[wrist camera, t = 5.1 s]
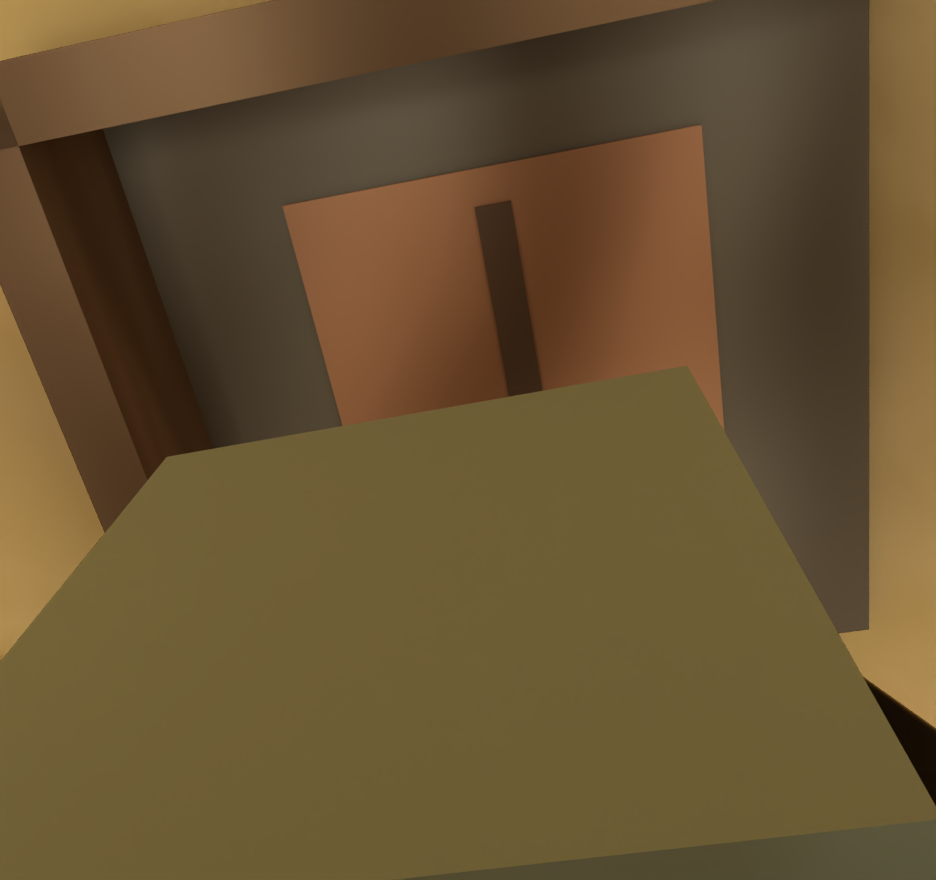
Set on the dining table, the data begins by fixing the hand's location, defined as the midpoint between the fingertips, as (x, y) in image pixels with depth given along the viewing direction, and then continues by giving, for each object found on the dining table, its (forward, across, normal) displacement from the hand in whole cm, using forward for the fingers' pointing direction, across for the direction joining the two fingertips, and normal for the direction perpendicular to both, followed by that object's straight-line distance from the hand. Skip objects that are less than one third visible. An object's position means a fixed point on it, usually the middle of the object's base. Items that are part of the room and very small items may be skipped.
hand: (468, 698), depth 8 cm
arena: (+11, -1, +2) cm, 11 cm away
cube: (+1, 0, 0) cm, 1 cm away
